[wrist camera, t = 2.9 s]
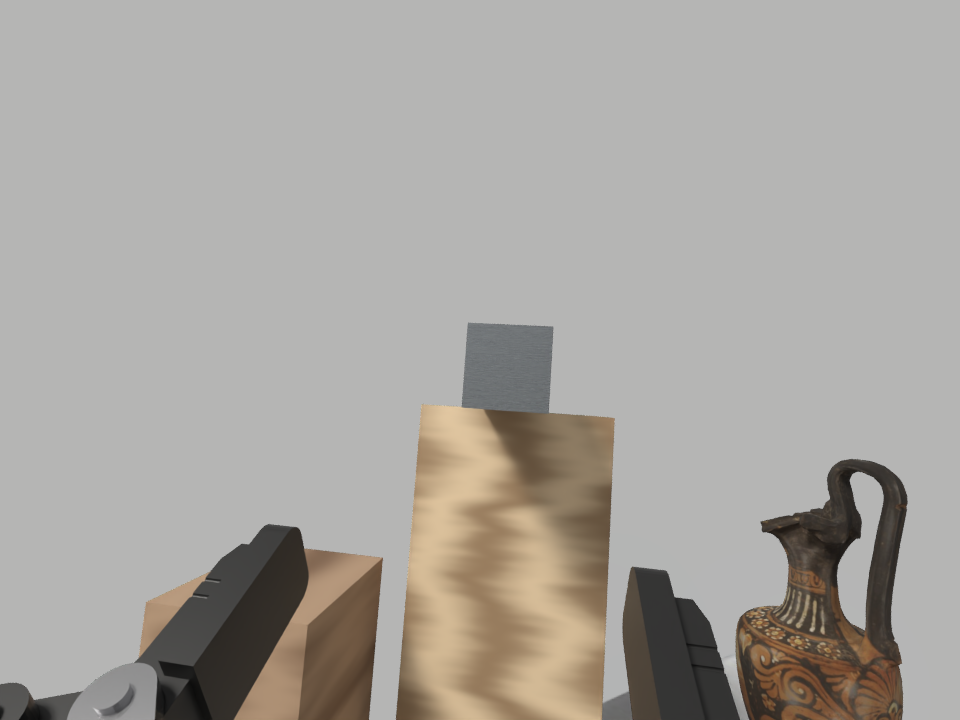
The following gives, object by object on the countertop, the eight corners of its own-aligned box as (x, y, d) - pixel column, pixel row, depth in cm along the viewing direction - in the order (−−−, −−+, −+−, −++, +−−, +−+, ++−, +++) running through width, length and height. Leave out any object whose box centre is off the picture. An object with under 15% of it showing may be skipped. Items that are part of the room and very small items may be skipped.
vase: (788, 754, 48) (790, 449, 51) (950, 864, 37) (941, 465, 40) (704, 784, 43) (711, 445, 46) (861, 922, 32) (858, 463, 35)
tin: (547, 412, 42) (551, 339, 42) (548, 413, 22) (556, 275, 23) (500, 409, 42) (505, 337, 43) (461, 407, 23) (471, 273, 23)
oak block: (576, 837, 37) (595, 416, 40) (589, 1013, 26) (614, 417, 29) (423, 807, 39) (453, 406, 42) (376, 961, 28) (421, 404, 31)
